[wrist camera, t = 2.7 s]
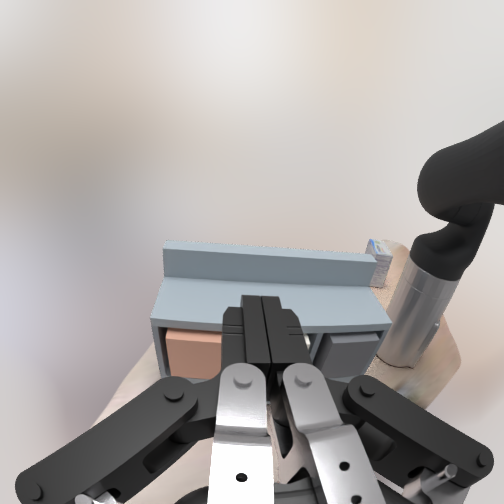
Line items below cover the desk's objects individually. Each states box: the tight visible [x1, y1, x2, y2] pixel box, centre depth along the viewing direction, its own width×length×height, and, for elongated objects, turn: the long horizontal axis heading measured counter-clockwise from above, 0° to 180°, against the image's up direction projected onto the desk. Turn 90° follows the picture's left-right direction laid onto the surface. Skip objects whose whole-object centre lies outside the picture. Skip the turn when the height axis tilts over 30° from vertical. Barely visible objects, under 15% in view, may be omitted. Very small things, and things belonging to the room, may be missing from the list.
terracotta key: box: [165, 327, 222, 379], centre depth 28 cm, size 5×6×6 cm
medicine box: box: [365, 239, 393, 288], centre depth 61 cm, size 8×4×9 cm, turn 170°
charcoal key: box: [313, 331, 380, 378], centre depth 30 cm, size 5×6×6 cm
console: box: [150, 240, 392, 404], centre depth 32 cm, size 9×25×18 cm, turn 94°
